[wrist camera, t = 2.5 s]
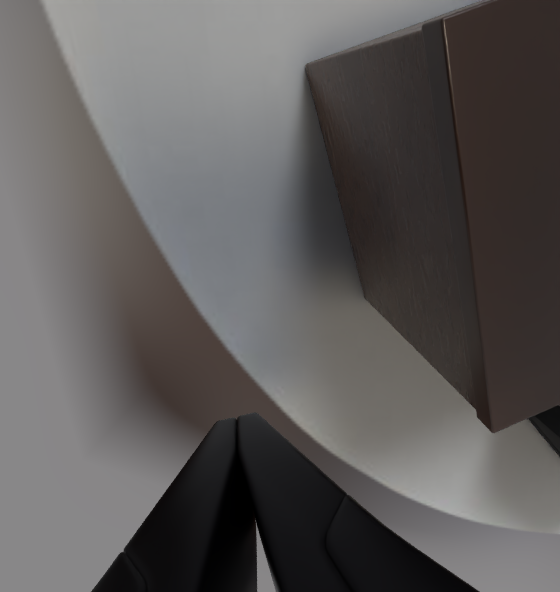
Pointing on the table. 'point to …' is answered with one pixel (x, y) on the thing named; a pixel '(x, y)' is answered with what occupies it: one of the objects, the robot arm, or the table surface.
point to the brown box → (458, 193)
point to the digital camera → (549, 426)
